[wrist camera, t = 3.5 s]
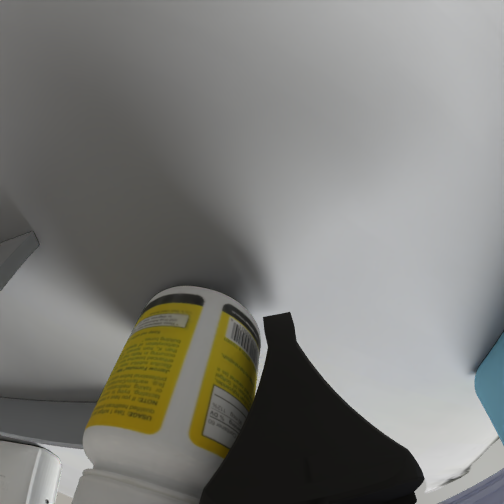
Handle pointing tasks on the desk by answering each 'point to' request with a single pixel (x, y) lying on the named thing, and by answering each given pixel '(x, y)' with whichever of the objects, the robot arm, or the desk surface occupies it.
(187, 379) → the supplement bottle
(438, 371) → the desk surface
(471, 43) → the desk surface
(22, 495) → the photo printer
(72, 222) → the desk surface
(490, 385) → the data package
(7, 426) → the bay
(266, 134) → the desk surface
